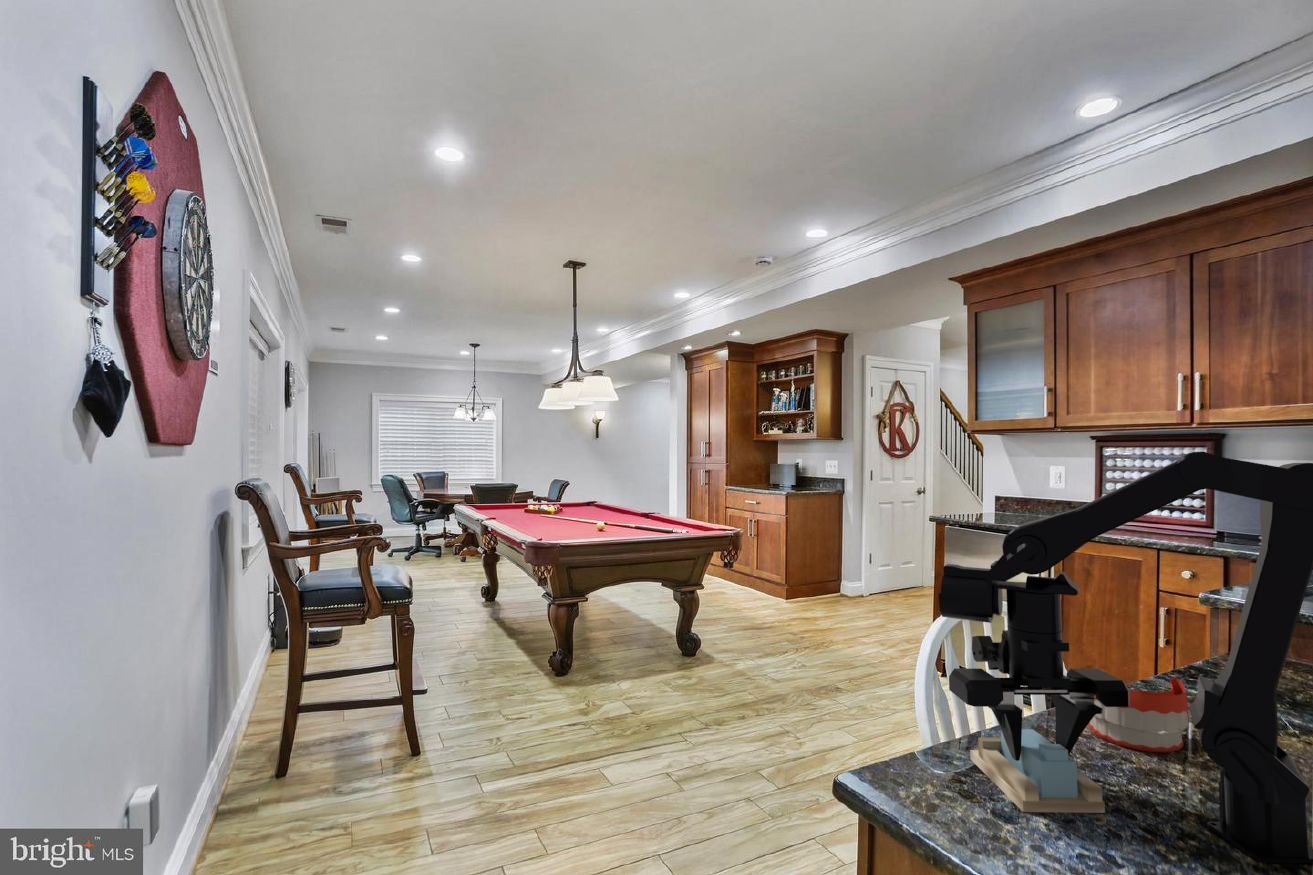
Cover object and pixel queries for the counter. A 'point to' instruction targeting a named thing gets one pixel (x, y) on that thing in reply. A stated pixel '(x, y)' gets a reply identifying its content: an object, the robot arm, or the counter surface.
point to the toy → (1145, 720)
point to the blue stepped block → (1045, 765)
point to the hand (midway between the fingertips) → (1038, 759)
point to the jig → (1025, 789)
